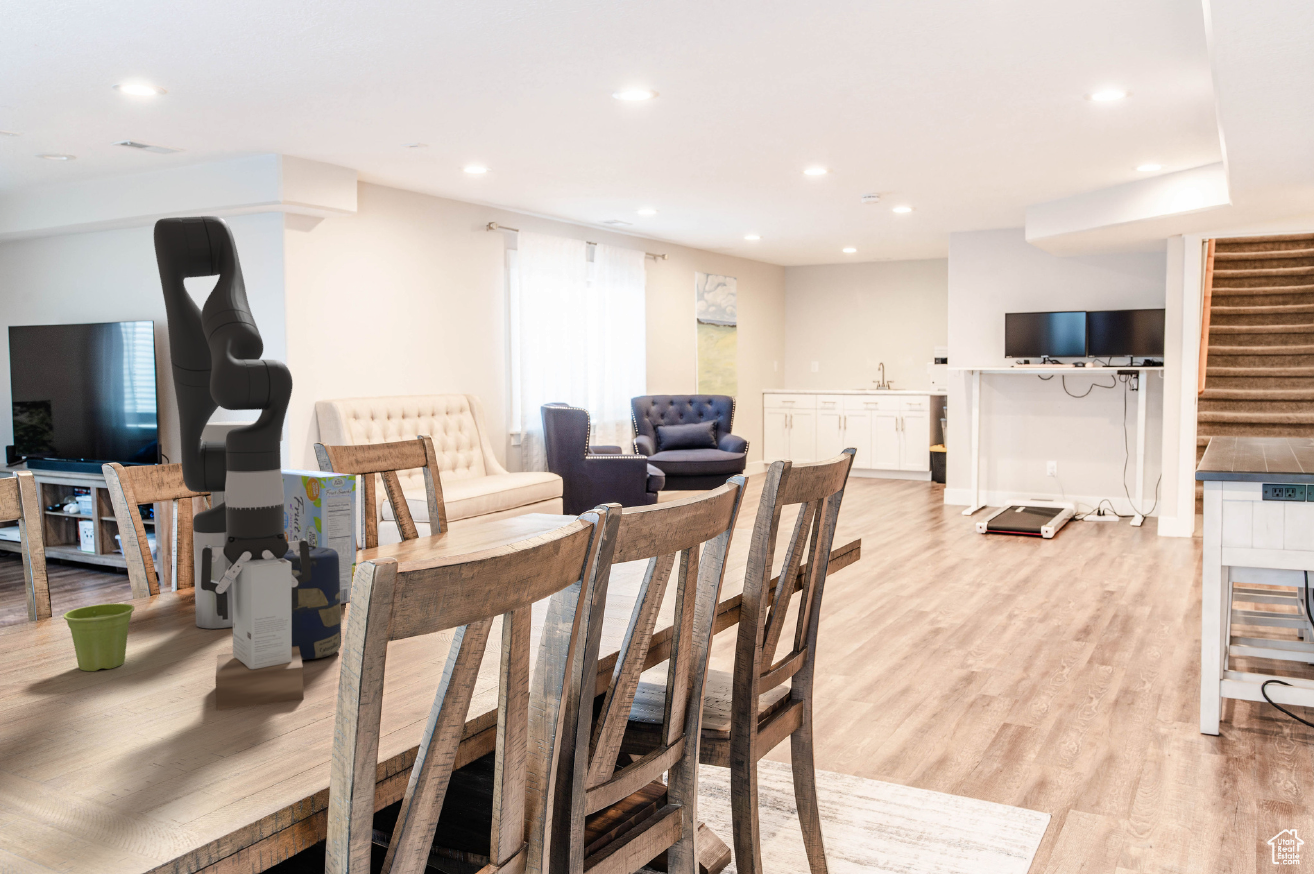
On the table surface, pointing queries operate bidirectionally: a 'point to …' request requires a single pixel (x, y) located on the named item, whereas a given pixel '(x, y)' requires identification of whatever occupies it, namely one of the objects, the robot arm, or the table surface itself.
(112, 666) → the plant pot
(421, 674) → the table surface
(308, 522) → the snack box
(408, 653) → the table surface
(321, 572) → the canister
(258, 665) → the skincare box
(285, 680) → the walnut block
